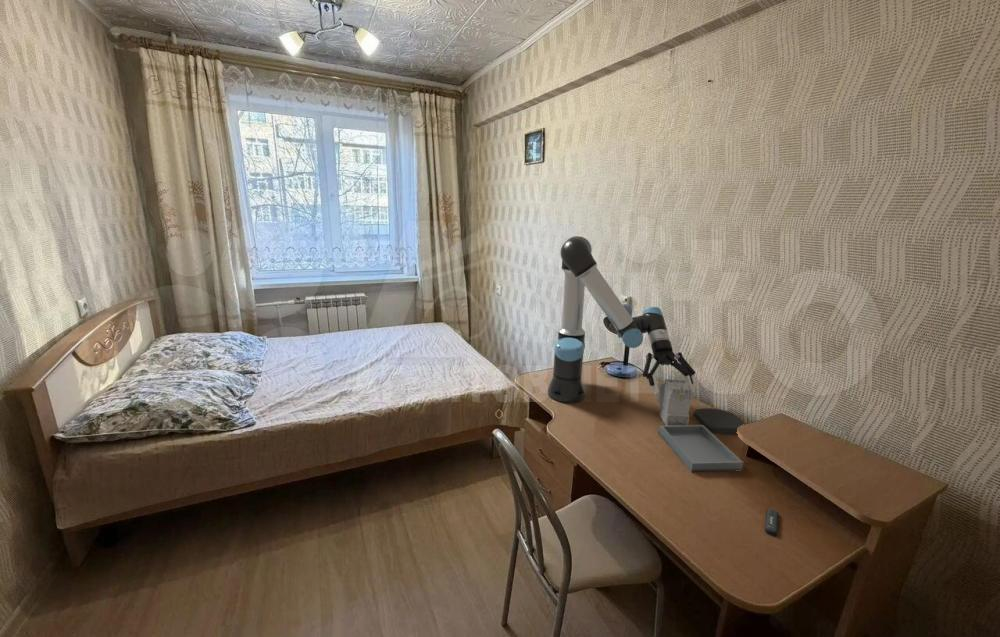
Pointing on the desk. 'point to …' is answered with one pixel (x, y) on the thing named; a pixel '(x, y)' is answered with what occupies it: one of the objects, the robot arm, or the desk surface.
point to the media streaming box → (718, 420)
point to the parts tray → (699, 448)
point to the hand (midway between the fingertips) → (674, 393)
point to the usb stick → (771, 522)
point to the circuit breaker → (675, 402)
